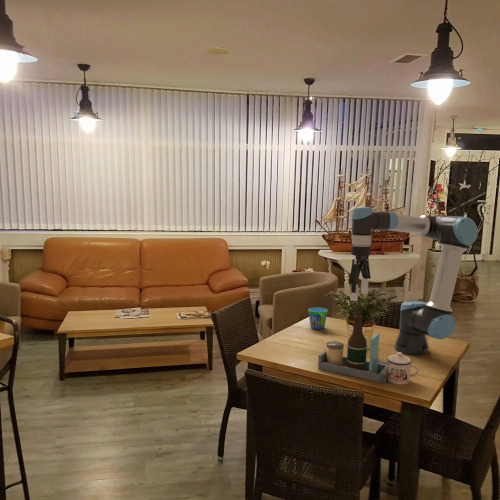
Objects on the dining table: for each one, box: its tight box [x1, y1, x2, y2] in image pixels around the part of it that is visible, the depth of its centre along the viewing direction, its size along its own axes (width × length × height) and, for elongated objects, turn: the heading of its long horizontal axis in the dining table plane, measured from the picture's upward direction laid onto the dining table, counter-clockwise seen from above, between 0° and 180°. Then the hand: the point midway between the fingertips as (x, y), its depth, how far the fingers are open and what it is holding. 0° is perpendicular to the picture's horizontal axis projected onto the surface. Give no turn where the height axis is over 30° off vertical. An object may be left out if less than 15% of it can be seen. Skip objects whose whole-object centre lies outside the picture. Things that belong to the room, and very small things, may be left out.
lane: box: [317, 348, 388, 384], centre depth 192 cm, size 28×12×6 cm, turn 59°
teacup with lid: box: [386, 351, 419, 385], centre depth 183 cm, size 12×9×12 cm
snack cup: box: [307, 307, 329, 330], centre depth 252 cm, size 16×10×10 cm
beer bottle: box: [346, 313, 368, 371], centre depth 191 cm, size 8×8×24 cm
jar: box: [326, 340, 345, 366], centre depth 197 cm, size 7×7×10 cm
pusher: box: [368, 332, 388, 373], centre depth 186 cm, size 7×9×16 cm
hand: (359, 297), depth 188 cm, fingers open, 13 cm apart
